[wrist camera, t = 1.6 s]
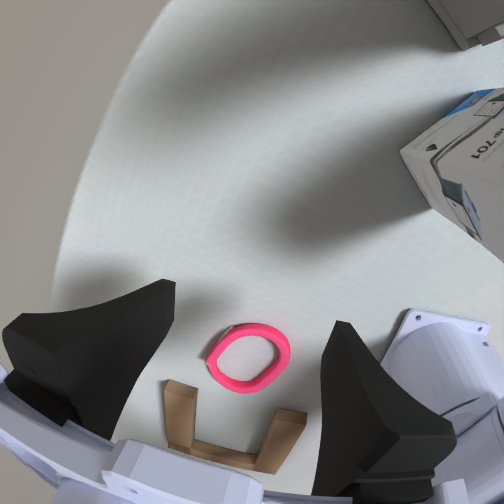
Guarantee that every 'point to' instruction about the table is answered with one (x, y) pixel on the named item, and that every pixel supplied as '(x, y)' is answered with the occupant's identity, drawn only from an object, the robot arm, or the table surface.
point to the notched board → (267, 460)
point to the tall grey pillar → (471, 20)
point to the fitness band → (268, 375)
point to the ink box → (465, 167)
